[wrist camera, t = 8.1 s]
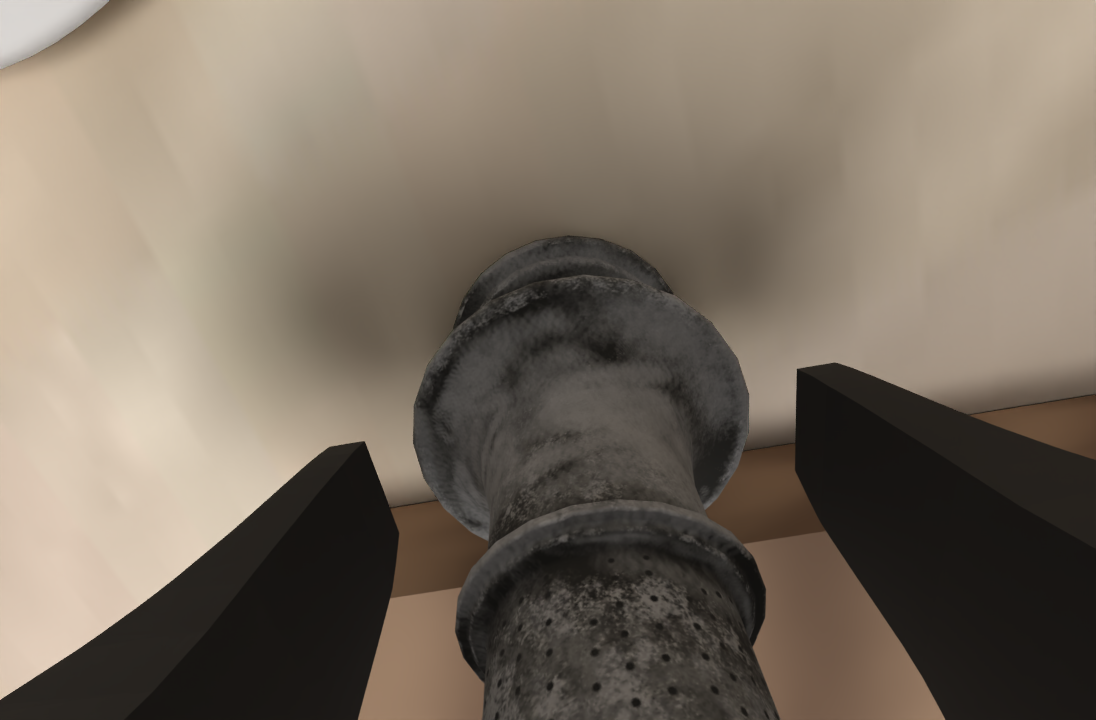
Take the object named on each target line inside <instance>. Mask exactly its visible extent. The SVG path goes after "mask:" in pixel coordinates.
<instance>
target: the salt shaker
mask: <svg viewBox="0 0 1096 720" xmlns="http://www.w3.org/2000/svg"><path fill="white" fill-rule="evenodd" d="M748 433H749V393H748V390H747V387H746V384H745V380H744V377H743V374H742V371H741V368H740V365H739V362H738V359H737V357H736V355H735V354H734V353H733V351H732V350H731V349H730V347H729V346H728V344H727V343H726V342H725V340H724V339H723V338H722V336H721V335H720V333H719V332H718V331H717V329H716V328H715V327H714V325H713V324H712V322H710V321H709V320H708V319H706V318H705V317H704V316H702V315H701V314H700V313H698V312H697V311H696V310H694V309H693V308H692V307H690V306H689V305H688V304H686V303H685V302H683V301H682V300H681V299H679V298H678V297H677V296H675V295H674V294H673V292H672V291H671V289H670V288H669V287H668V285H667V284H666V283H665V281H664V280H663V279H662V277H661V276H660V275H659V273H658V272H657V271H656V269H655V268H653V267H652V266H651V265H649V264H648V263H647V262H645V261H644V260H643V259H641V258H640V257H639V256H637V255H636V254H635V253H633V252H632V251H631V250H628V249H625V248H623V247H620V246H618V245H615V244H613V243H610V242H607V241H605V240H602V239H596V238H586V237H576V236H563V237H557V238H550V239H544V240H538V241H534V242H532V243H530V244H527V245H525V246H523V247H520V248H518V249H516V250H514V251H511V252H509V253H507V254H505V255H504V256H503V257H501V258H500V259H499V260H498V261H496V262H495V263H494V264H493V265H491V266H490V267H489V268H488V269H486V270H485V271H484V272H483V273H481V275H480V276H479V277H478V279H477V280H476V282H475V283H474V284H473V286H472V287H471V289H470V290H469V291H468V293H467V294H466V296H465V297H464V298H463V301H462V304H461V307H460V310H459V313H458V316H457V318H456V321H455V324H454V327H453V330H452V332H451V333H450V335H449V336H448V337H447V339H446V340H445V342H444V343H443V344H442V346H441V347H440V348H439V350H438V351H437V353H436V354H435V355H434V357H433V358H432V359H431V361H430V362H429V364H428V365H427V368H426V371H425V374H424V377H423V380H422V383H421V386H420V389H419V392H418V395H417V398H416V401H415V403H414V426H413V444H414V448H415V451H416V454H417V457H418V461H419V464H420V467H421V471H422V474H423V477H424V479H425V481H426V482H427V484H428V485H429V487H430V488H431V490H432V491H433V493H434V494H435V496H436V497H437V499H438V500H439V502H440V503H441V505H442V506H443V508H444V509H445V510H446V511H447V512H449V513H450V514H451V515H452V516H453V517H454V518H455V519H457V520H458V521H459V522H460V523H461V524H462V525H464V526H465V527H466V528H467V529H468V530H469V531H470V532H472V533H473V534H475V535H477V536H479V537H481V538H483V539H485V540H487V541H488V551H487V552H486V553H485V554H484V555H483V556H482V557H481V558H480V559H479V561H478V562H477V563H476V564H475V565H474V566H473V567H472V568H471V570H470V572H469V574H468V576H467V578H466V581H465V583H464V585H463V587H462V589H461V591H460V593H459V595H458V600H457V611H456V624H455V633H456V636H457V640H458V643H459V646H460V649H461V652H462V655H463V658H464V659H465V661H466V662H467V663H468V665H469V666H470V667H471V668H472V670H473V671H474V672H475V674H476V675H477V676H478V678H479V679H480V680H481V681H482V682H483V683H485V685H484V701H483V716H482V720H781V719H780V716H779V714H778V711H777V709H776V706H775V704H774V701H773V698H772V696H771V693H770V691H769V688H768V686H767V683H766V681H765V678H764V675H763V673H762V670H761V668H760V665H759V663H758V660H757V658H756V655H755V652H754V650H753V645H754V644H755V641H756V639H757V636H758V634H759V632H760V629H761V627H762V624H763V622H764V619H765V610H766V588H765V585H764V582H763V580H762V577H761V574H760V572H759V569H758V566H757V564H756V561H755V559H754V557H753V555H752V554H751V553H750V552H749V551H748V550H747V549H746V548H745V546H744V545H743V544H742V543H741V542H740V541H739V540H738V539H737V537H736V536H735V535H734V534H733V533H732V532H731V531H729V530H727V529H726V528H724V527H722V526H721V525H719V524H717V523H716V522H714V521H712V520H711V519H709V518H708V517H707V514H706V512H705V510H706V509H707V508H708V507H709V506H710V505H711V504H712V503H713V502H714V501H715V500H716V499H717V498H718V497H719V495H720V494H721V492H722V490H723V489H724V487H725V486H726V484H727V483H728V481H729V480H730V478H731V477H732V475H733V474H734V472H735V471H736V469H737V467H738V465H739V461H740V458H741V455H742V452H743V449H744V446H745V442H746V439H747V436H748Z"/></svg>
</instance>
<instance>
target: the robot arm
mask: <svg viewBox="0 0 1096 720" xmlns="http://www.w3.org/2000/svg"><path fill="white" fill-rule="evenodd" d="M795 472H796V474H797V476H798V478H799V480H800V482H801V484H802V486H803V488H804V491H805V493H806V495H807V497H808V499H809V501H810V503H811V505H812V507H813V509H814V511H815V513H816V515H817V517H818V519H819V521H820V523H821V524H822V526H823V527H824V529H825V530H826V532H827V533H828V535H829V537H830V538H831V540H832V541H833V543H834V544H835V546H836V547H837V549H838V550H839V552H840V553H841V555H842V556H843V558H844V559H845V561H846V562H847V564H848V565H849V567H850V568H851V570H852V571H853V573H854V574H855V576H856V577H857V579H858V580H859V581H860V583H861V584H862V586H863V587H864V589H865V590H866V592H867V593H868V595H869V596H870V598H871V599H872V601H873V602H874V604H875V605H876V607H877V608H878V610H879V611H880V613H881V614H882V616H883V617H884V619H885V620H886V621H887V623H888V624H889V626H890V627H891V629H892V630H893V632H894V633H895V635H896V636H897V638H898V639H899V641H900V642H901V644H902V645H903V647H904V648H905V650H906V652H907V653H908V655H909V656H910V658H911V660H912V661H913V663H914V665H915V666H916V668H917V669H918V671H919V673H920V674H921V676H922V678H923V679H924V681H925V683H926V685H927V687H928V688H929V690H930V692H931V694H932V696H933V698H934V700H935V701H936V703H937V705H938V707H939V709H940V711H941V712H942V714H943V716H944V718H945V720H1096V460H1095V459H1091V458H1088V457H1085V456H1082V455H1079V454H1076V453H1072V452H1069V451H1066V450H1063V449H1060V448H1057V447H1054V446H1051V445H1048V444H1046V443H1043V442H1040V441H1037V440H1034V439H1032V438H1029V437H1026V436H1023V435H1020V434H1017V433H1015V432H1012V431H1009V430H1006V429H1003V428H1001V427H998V426H995V425H993V424H990V423H987V422H985V421H982V420H980V419H977V418H974V417H972V416H969V415H967V414H964V413H962V412H959V411H957V410H954V409H952V408H949V407H947V406H944V405H942V404H939V403H937V402H934V401H932V400H929V399H927V398H925V397H922V396H920V395H917V394H915V393H912V392H910V391H908V390H905V389H903V388H900V387H898V386H896V385H893V384H891V383H888V382H886V381H884V380H881V379H879V378H876V377H874V376H871V375H869V374H866V373H864V372H861V371H858V370H856V369H853V368H850V367H848V366H844V365H841V364H838V363H830V364H824V365H818V366H812V367H806V368H800V369H797V391H796V438H795ZM398 542H399V530H398V528H397V525H396V523H395V520H394V517H393V515H392V512H391V509H390V507H389V504H388V501H387V499H386V496H385V494H384V491H383V488H382V486H381V483H380V480H379V478H378V475H377V472H376V470H375V467H374V465H373V462H372V459H371V457H370V454H369V451H368V449H367V446H366V443H365V441H362V442H356V443H350V444H344V445H338V446H332V447H329V448H327V449H326V450H325V451H323V452H322V453H321V454H319V455H318V456H317V457H316V458H314V459H313V460H312V461H311V462H310V463H308V464H307V465H306V466H305V467H304V468H303V469H301V470H300V471H299V472H298V473H297V474H296V475H295V476H293V477H292V478H291V479H290V480H289V481H288V482H287V483H286V484H284V485H283V486H282V487H281V488H280V489H279V490H278V491H277V492H276V493H274V494H273V495H272V496H271V497H270V498H269V499H268V500H267V501H265V502H264V503H263V504H262V505H261V506H260V507H259V508H258V509H256V510H255V511H254V512H253V513H252V514H251V515H250V516H249V517H247V518H246V519H245V520H244V521H243V522H242V523H241V524H240V525H238V526H237V527H236V528H235V529H234V530H233V531H232V532H230V533H229V534H228V535H227V536H226V537H224V538H223V539H222V540H221V541H219V542H218V543H217V544H216V545H215V546H213V547H212V548H211V549H210V550H209V551H207V552H206V553H205V554H204V555H203V556H201V557H200V558H199V559H198V560H197V561H195V562H194V563H193V564H192V565H191V566H189V567H188V568H187V569H186V570H185V571H183V572H182V573H181V574H180V575H179V576H177V577H176V578H175V579H174V580H172V581H171V582H170V583H169V584H167V585H166V586H165V587H163V588H162V589H161V590H160V591H158V592H157V593H156V594H154V595H153V596H152V597H150V598H149V599H148V600H147V601H145V602H144V603H143V604H141V605H140V606H139V607H137V608H136V609H134V610H133V611H132V612H130V613H129V614H128V615H126V616H125V617H123V618H122V619H121V620H119V621H118V622H116V623H115V624H114V625H112V626H111V627H109V628H108V629H107V630H105V631H104V632H103V633H101V634H100V635H98V636H97V637H96V638H94V639H93V640H91V641H90V642H88V643H87V644H85V645H84V646H83V647H81V648H80V649H78V650H77V651H75V652H74V653H72V654H70V655H69V656H67V657H66V658H64V659H63V660H61V661H60V662H58V663H57V664H55V665H53V666H52V667H50V668H49V669H47V670H46V671H44V672H43V673H41V674H40V675H38V676H36V677H35V678H33V679H32V680H30V681H29V682H27V683H26V684H24V685H23V686H21V687H19V688H18V689H16V690H15V691H13V692H12V693H10V694H9V695H7V696H6V697H4V698H2V699H1V700H0V720H358V717H359V714H360V710H361V706H362V703H363V699H364V695H365V691H366V688H367V684H368V680H369V677H370V673H371V669H372V665H373V662H374V658H375V654H376V651H377V647H378V643H379V639H380V636H381V632H382V628H383V624H384V620H385V617H386V613H387V609H388V605H389V601H390V597H391V593H392V589H393V582H394V575H395V568H396V560H397V551H398Z"/></svg>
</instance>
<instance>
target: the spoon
mask: <svg viewBox="0 0 1096 720" xmlns="http://www.w3.org/2000/svg"><path fill="white" fill-rule="evenodd" d="M108 1H109V0H0V69H3V68H5V67H8V66H10V65H12V64H15V63H17V62H20V61H22V60H24V59H27V58H29V57H31V56H33V55H35V54H36V53H38V52H40V51H42V50H44V49H45V48H47V47H49V46H51V45H52V44H54V43H56V42H57V41H59V40H60V39H62V38H63V37H65V36H66V35H67V34H69V33H70V32H72V31H73V30H75V29H76V28H77V27H79V26H80V25H82V24H83V23H84V22H85V21H86V20H88V19H89V18H90V17H91V16H92V15H94V14H95V13H96V12H97V11H98V10H99V9H101V8H102V7H103V6H104V5H105V4H106V3H107V2H108Z"/></svg>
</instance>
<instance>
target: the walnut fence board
mask: <svg viewBox="0 0 1096 720" xmlns="http://www.w3.org/2000/svg"><path fill="white" fill-rule="evenodd" d="M969 416H972V417H974V418H977V419H980V420H982V421H985V422H987V423H990V424H993V425H995V426H998V427H1001V428H1003V429H1006V430H1009V431H1012V432H1015V433H1017V434H1020V435H1023V436H1026V437H1029V438H1032V439H1034V440H1037V441H1040V442H1043V443H1046V444H1048V445H1051V446H1054V447H1057V448H1060V449H1063V450H1066V451H1069V452H1072V453H1076V454H1079V455H1082V456H1085V457H1088V458H1091V459H1095V460H1096V395H1091V396H1085V397H1079V398H1073V399H1066V400H1060V401H1054V402H1048V403H1042V404H1035V405H1029V406H1023V407H1017V408H1011V409H1004V410H998V411H992V412H986V413H979V414H973V415H969ZM390 509H391V512H392V515H393V517H394V520H395V523H396V525H397V528H398V530H399V542H398V551H397V560H396V568H395V575H394V582H393V589H392V593H391V597H390V601H389V605H388V609H387V613H386V617H385V620H384V624H383V628H382V632H381V636H380V639H379V643H378V647H377V651H376V654H375V658H374V662H373V665H372V669H371V673H370V677H369V680H368V684H367V688H366V691H365V695H364V699H363V703H362V706H361V710H360V714H359V717H358V720H482V716H483V701H484V685H485V683H483V682H482V681H481V680H480V679H479V678H478V676H477V675H476V674H475V672H474V671H473V670H472V668H471V667H470V666H469V665H468V663H467V662H466V661H465V659H464V658H463V655H462V652H461V649H460V646H459V643H458V640H457V636H456V633H455V624H456V611H457V600H458V595H459V593H460V591H461V589H462V587H463V585H464V583H465V581H466V578H467V576H468V574H469V572H470V570H471V568H472V567H473V566H474V565H475V564H476V563H477V562H478V561H479V559H480V558H481V557H482V556H483V555H484V554H485V553H486V552H487V551H488V541H487V540H485V539H483V538H481V537H479V536H477V535H475V534H473V533H472V532H470V531H469V530H468V529H467V528H466V527H465V526H464V525H462V524H461V523H460V522H459V521H458V520H457V519H455V518H454V517H453V516H452V515H451V514H450V513H449V512H447V511H446V510H445V509H444V508H443V506H442V505H441V503H440V502H439V501H434V502H427V503H421V504H415V505H409V506H403V507H396V508H390ZM705 512H706V514H707V517H708V518H709V519H711V520H712V521H714V522H716V523H717V524H719V525H721V526H722V527H724V528H726V529H727V530H729V531H731V532H732V533H733V534H734V535H735V536H736V537H737V539H738V540H739V541H740V542H741V543H742V544H743V545H744V546H745V548H746V549H747V550H748V551H749V552H750V553H751V554H752V555H753V557H754V559H755V561H756V564H757V566H758V569H759V572H760V574H761V577H762V580H763V582H764V585H765V588H766V610H765V619H764V622H763V624H762V627H761V629H760V632H759V634H758V636H757V639H756V641H755V644H754V645H753V650H754V652H755V655H756V658H757V660H758V663H759V665H760V668H761V670H762V673H763V675H764V678H765V681H766V683H767V686H768V688H769V691H770V693H771V696H772V698H773V701H774V704H775V706H776V709H777V711H778V714H779V716H780V719H781V720H945V718H944V716H943V714H942V712H941V711H940V709H939V707H938V705H937V703H936V701H935V700H934V698H933V696H932V694H931V692H930V690H929V688H928V687H927V685H926V683H925V681H924V679H923V678H922V676H921V674H920V673H919V671H918V669H917V668H916V666H915V665H914V663H913V661H912V660H911V658H910V656H909V655H908V653H907V652H906V650H905V648H904V647H903V645H902V644H901V642H900V641H899V639H898V638H897V636H896V635H895V633H894V632H893V630H892V629H891V627H890V626H889V624H888V623H887V621H886V620H885V619H884V617H883V616H882V614H881V613H880V611H879V610H878V608H877V607H876V605H875V604H874V602H873V601H872V599H871V598H870V596H869V595H868V593H867V592H866V590H865V589H864V587H863V586H862V584H861V583H860V581H859V580H858V579H857V577H856V576H855V574H854V573H853V571H852V570H851V568H850V567H849V565H848V564H847V562H846V561H845V559H844V558H843V556H842V555H841V553H840V552H839V550H838V549H837V547H836V546H835V544H834V543H833V541H832V540H831V538H830V537H829V535H828V533H827V532H826V530H825V529H824V527H823V526H822V524H821V523H820V521H819V519H818V517H817V515H816V513H815V511H814V509H813V507H812V505H811V503H810V501H809V499H808V497H807V495H806V493H805V491H804V488H803V486H802V484H801V482H800V480H799V478H798V476H797V474H796V472H795V443H793V444H787V445H781V446H775V447H769V448H762V449H756V450H750V451H744V452H742V455H741V458H740V461H739V465H738V467H737V469H736V471H735V472H734V474H733V475H732V477H731V478H730V480H729V481H728V483H727V484H726V486H725V487H724V489H723V490H722V492H721V494H720V495H719V497H718V498H717V499H716V500H715V501H714V502H713V503H712V504H711V505H710V506H709V507H708V508H707V509H706V510H705Z"/></svg>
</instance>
